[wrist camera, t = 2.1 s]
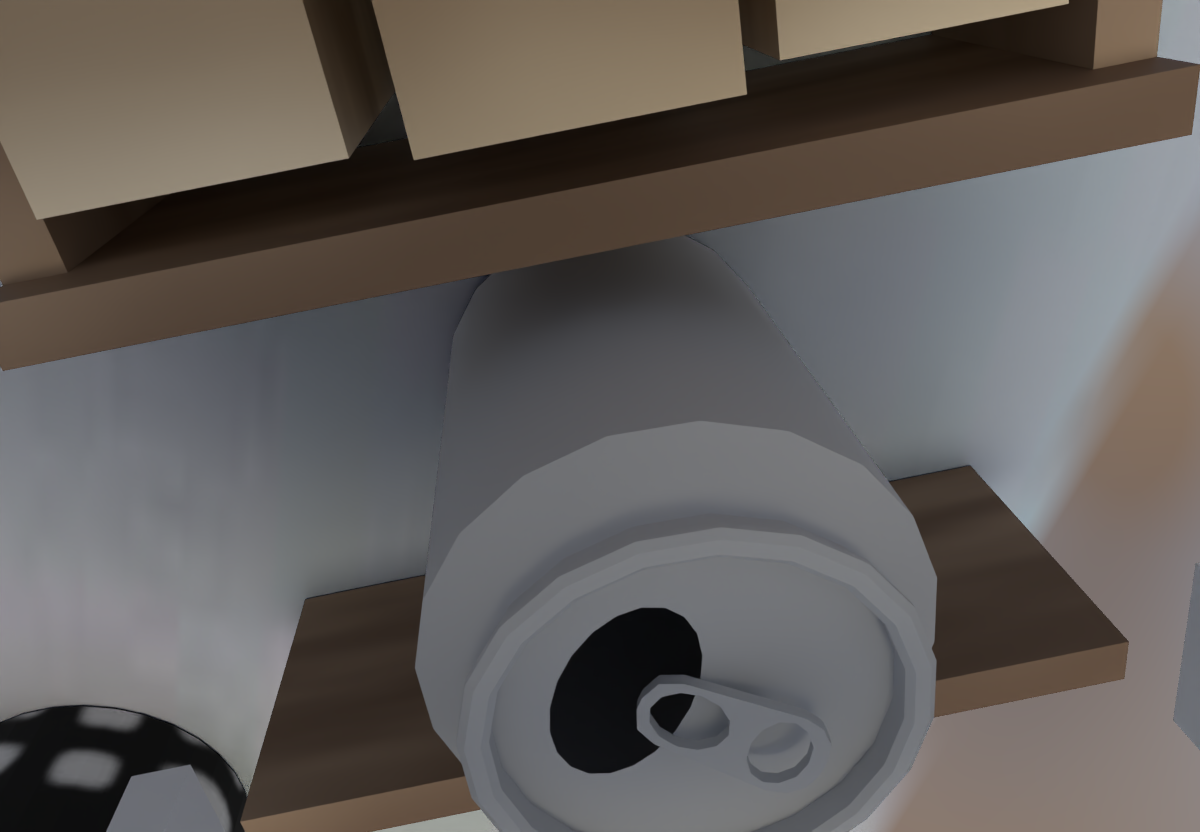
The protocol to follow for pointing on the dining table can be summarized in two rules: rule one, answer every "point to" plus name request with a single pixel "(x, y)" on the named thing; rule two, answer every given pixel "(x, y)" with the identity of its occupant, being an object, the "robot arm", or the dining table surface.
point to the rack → (586, 226)
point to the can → (664, 564)
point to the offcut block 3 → (859, 21)
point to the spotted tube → (97, 768)
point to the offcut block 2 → (551, 64)
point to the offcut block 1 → (181, 93)
